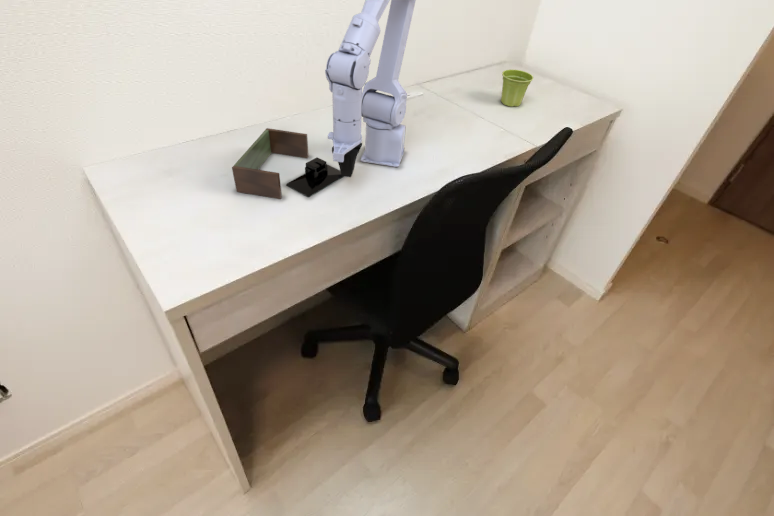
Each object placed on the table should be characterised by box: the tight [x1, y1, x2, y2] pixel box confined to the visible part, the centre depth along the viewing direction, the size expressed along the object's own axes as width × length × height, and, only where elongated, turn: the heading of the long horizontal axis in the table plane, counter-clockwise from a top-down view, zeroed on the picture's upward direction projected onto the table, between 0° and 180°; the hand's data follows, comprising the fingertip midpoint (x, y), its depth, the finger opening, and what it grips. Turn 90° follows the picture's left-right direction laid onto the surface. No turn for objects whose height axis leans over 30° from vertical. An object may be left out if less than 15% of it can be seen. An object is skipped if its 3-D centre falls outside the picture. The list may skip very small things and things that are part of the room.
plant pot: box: [500, 69, 534, 107], centre depth 137 cm, size 9×9×9 cm
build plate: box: [285, 156, 345, 198], centre depth 99 cm, size 12×7×5 cm, turn 143°
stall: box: [231, 127, 310, 200], centre depth 100 cm, size 10×19×6 cm, turn 169°
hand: (347, 175), depth 98 cm, fingers closed
